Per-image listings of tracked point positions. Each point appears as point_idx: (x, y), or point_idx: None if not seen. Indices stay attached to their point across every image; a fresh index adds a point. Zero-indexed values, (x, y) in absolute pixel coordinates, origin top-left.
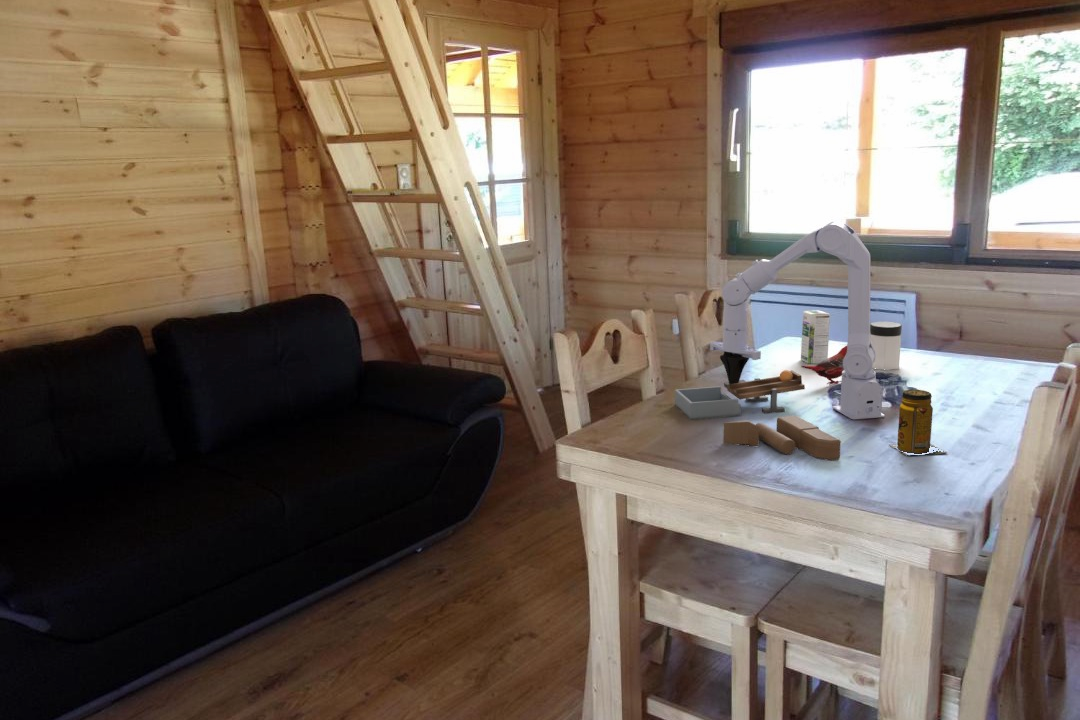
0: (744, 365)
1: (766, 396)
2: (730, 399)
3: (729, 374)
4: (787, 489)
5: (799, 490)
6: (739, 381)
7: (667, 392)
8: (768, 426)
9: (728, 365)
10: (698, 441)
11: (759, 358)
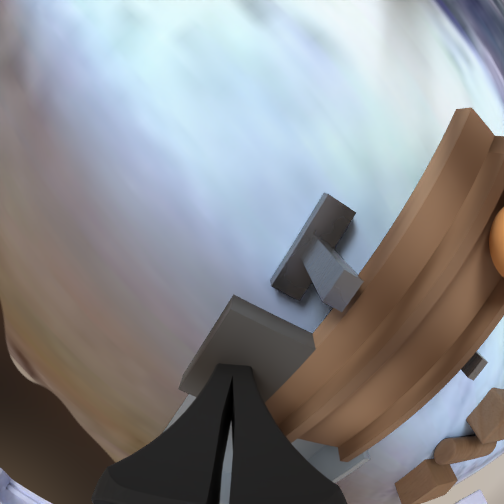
0: (294, 450)
1: (341, 203)
2: (348, 470)
3: (225, 448)
4: (480, 467)
5: (488, 461)
6: (236, 347)
7: (37, 363)
8: (465, 453)
9: (219, 501)
10: (357, 500)
11: (475, 498)
